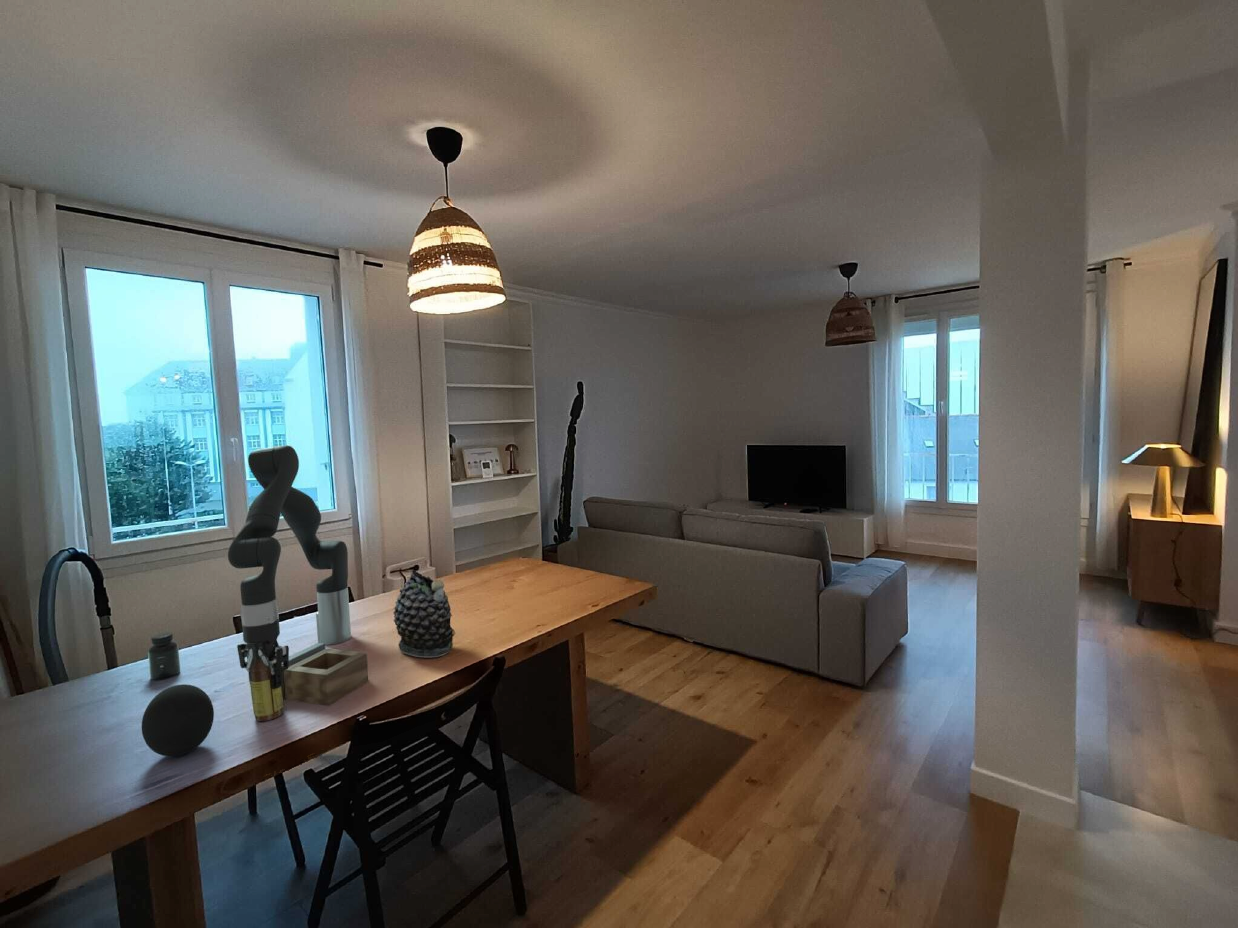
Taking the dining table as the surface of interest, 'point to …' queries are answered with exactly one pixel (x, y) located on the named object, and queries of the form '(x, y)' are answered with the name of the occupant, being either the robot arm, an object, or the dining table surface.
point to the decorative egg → (177, 720)
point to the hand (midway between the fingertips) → (265, 685)
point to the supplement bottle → (163, 657)
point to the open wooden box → (326, 676)
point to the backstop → (299, 657)
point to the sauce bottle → (263, 688)
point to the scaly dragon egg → (423, 617)
